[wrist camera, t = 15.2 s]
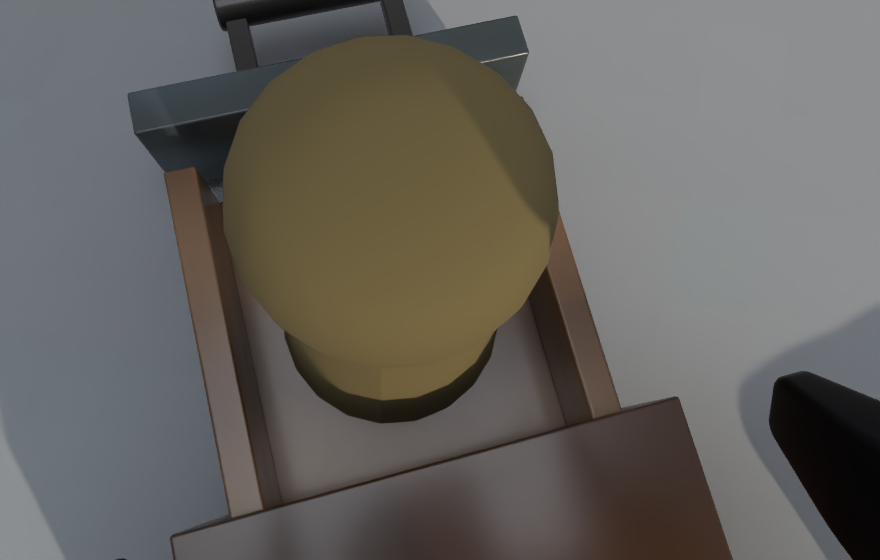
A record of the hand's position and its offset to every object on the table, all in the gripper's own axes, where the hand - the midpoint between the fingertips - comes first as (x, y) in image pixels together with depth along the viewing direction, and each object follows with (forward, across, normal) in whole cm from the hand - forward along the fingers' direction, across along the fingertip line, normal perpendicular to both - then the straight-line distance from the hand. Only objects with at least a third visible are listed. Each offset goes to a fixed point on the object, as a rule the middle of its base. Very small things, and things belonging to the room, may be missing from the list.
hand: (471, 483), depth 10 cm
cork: (+10, 0, +4) cm, 11 cm away
